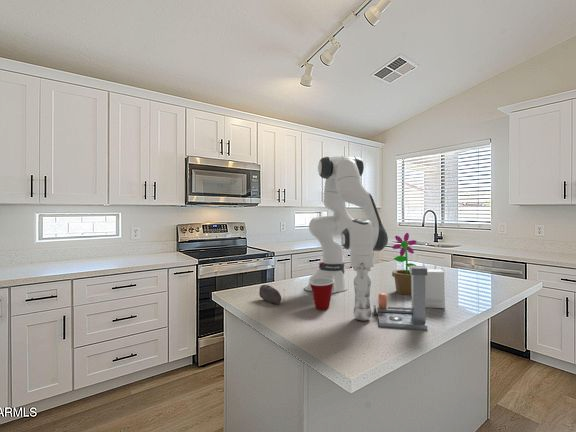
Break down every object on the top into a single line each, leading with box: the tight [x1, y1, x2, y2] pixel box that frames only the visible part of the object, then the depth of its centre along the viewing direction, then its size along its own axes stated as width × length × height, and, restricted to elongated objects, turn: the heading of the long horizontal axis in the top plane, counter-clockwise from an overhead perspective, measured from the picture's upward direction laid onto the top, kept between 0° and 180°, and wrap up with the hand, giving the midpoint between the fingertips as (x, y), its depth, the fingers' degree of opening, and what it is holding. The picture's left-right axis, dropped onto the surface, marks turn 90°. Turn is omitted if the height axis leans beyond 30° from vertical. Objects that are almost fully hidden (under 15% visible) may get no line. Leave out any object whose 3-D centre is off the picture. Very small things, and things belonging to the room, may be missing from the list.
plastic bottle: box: [352, 274, 372, 322], centre depth 116 cm, size 6×7×20 cm
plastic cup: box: [308, 278, 334, 311], centre depth 131 cm, size 11×11×12 cm
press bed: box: [377, 265, 428, 331], centre depth 113 cm, size 17×11×21 cm, turn 76°
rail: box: [373, 304, 412, 317], centre depth 121 cm, size 19×5×3 cm, turn 76°
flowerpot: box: [391, 232, 418, 296], centre depth 154 cm, size 14×14×30 cm
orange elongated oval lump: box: [376, 292, 388, 310], centre depth 122 cm, size 4×3×7 cm
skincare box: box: [425, 268, 446, 309], centre depth 132 cm, size 8×7×16 cm
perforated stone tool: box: [258, 284, 282, 305], centre depth 141 cm, size 15×5×7 cm, turn 35°
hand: (362, 297), depth 116 cm, fingers open, 7 cm apart
